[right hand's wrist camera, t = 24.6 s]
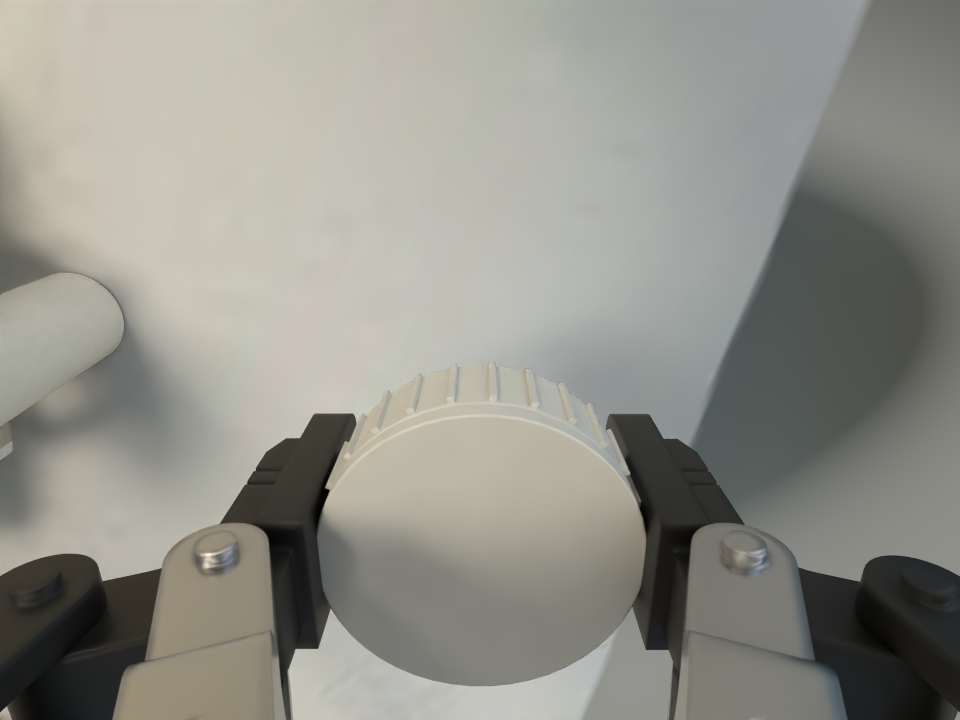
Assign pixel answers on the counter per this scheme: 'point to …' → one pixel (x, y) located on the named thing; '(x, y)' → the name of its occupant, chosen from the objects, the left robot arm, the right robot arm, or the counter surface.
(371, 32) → the counter surface
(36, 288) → the slender white bottle
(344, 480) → the lid
